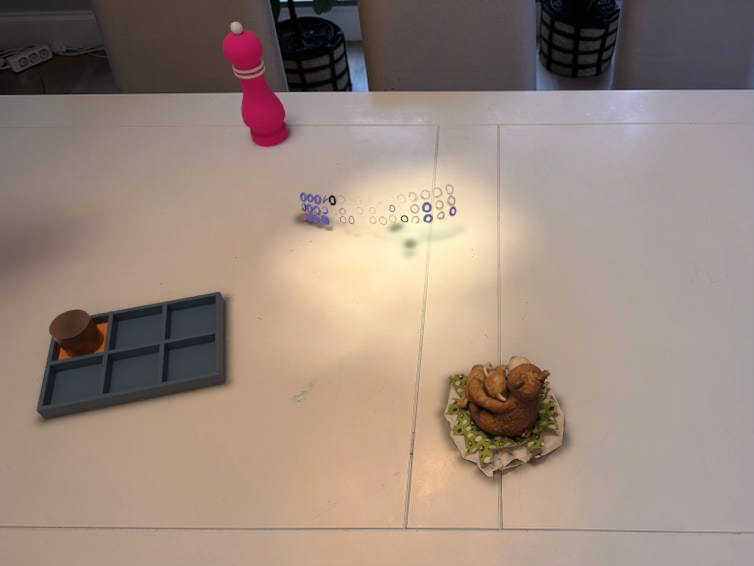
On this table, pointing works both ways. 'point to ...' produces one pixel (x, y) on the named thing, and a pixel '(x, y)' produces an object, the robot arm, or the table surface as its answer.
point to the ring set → (326, 220)
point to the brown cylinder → (76, 333)
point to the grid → (140, 357)
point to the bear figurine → (503, 414)
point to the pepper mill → (255, 87)
